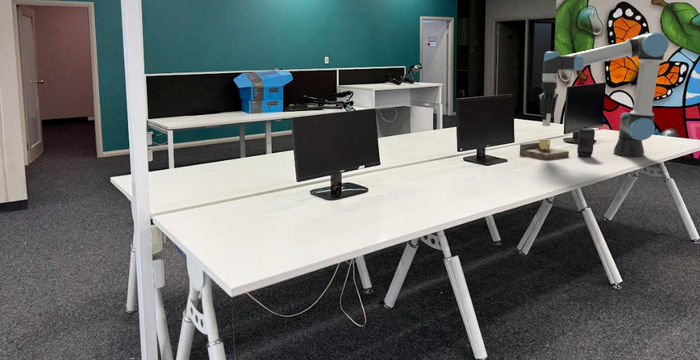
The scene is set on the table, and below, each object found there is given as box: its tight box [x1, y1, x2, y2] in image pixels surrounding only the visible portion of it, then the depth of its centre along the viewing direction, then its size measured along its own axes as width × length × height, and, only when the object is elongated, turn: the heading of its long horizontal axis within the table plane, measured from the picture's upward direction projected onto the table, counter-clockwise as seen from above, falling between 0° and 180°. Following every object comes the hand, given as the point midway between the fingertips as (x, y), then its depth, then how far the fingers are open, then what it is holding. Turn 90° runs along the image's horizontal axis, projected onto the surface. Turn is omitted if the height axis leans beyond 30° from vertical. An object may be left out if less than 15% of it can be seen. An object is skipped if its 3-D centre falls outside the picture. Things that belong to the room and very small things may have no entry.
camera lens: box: [576, 128, 596, 159], centre depth 301 cm, size 8×8×15 cm
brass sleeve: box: [538, 138, 551, 152], centre depth 304 cm, size 6×6×9 cm
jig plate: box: [519, 141, 570, 161], centre depth 304 cm, size 18×18×6 cm
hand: (546, 125), depth 301 cm, fingers closed
